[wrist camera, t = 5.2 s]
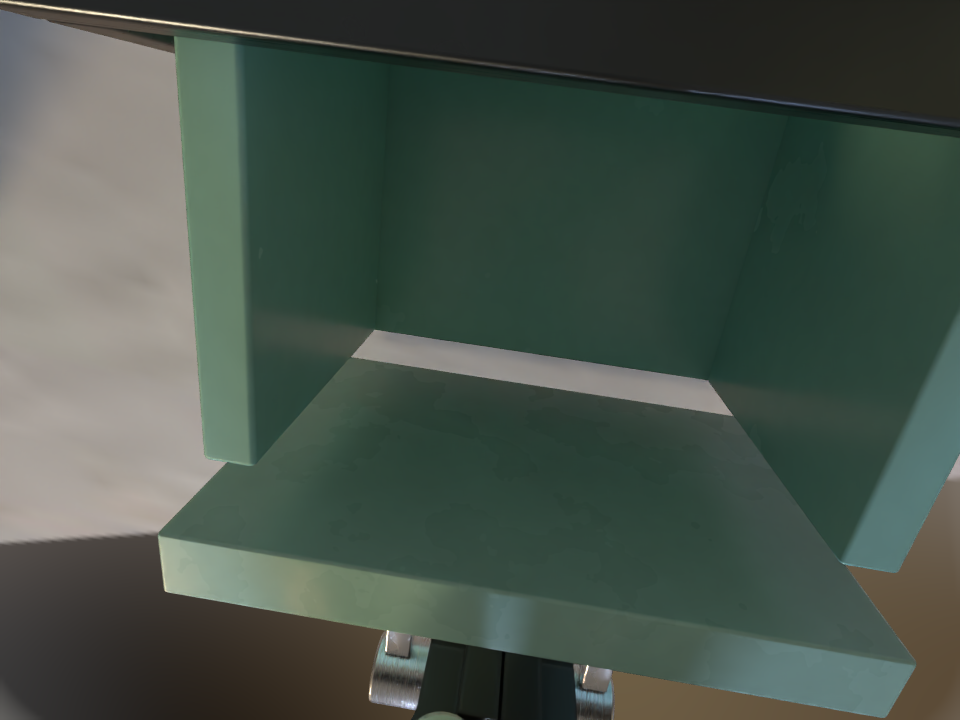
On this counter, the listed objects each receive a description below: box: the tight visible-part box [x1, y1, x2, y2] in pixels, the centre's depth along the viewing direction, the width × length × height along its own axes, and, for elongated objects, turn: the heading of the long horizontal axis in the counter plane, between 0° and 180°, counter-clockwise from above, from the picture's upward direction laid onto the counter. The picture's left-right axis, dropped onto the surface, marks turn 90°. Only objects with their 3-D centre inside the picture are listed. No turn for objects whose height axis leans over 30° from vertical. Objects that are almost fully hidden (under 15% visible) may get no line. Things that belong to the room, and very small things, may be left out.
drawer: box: [158, 36, 960, 720], centre depth 11 cm, size 19×11×8 cm, turn 173°
